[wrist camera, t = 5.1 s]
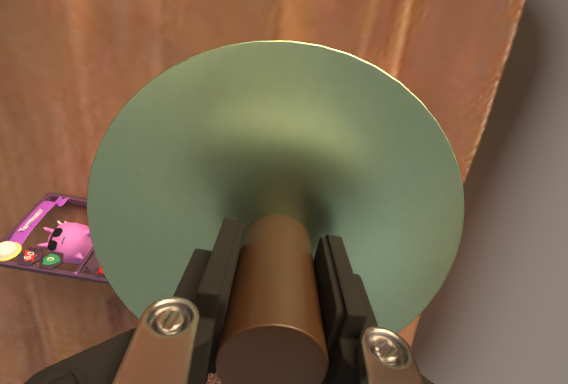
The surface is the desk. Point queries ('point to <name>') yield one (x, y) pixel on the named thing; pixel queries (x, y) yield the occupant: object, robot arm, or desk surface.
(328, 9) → the desk surface
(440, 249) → the tin lid
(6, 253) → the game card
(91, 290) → the desk surface
